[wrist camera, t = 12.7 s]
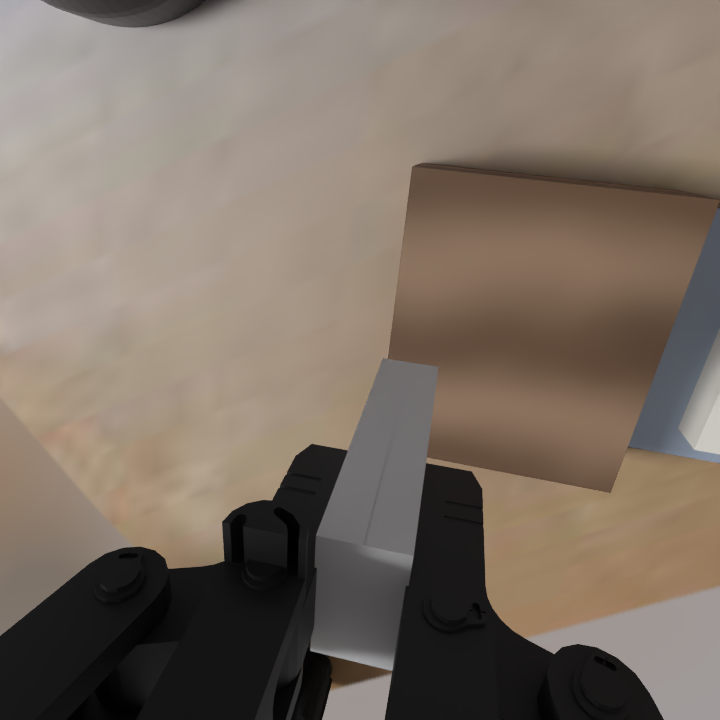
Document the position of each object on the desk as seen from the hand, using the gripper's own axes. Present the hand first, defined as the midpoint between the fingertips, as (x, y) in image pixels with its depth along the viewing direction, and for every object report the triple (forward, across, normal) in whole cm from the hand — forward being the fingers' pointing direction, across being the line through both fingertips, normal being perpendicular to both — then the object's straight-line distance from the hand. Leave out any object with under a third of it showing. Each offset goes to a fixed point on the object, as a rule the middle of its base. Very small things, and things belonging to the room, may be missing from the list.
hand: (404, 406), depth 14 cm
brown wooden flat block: (+12, +4, -1) cm, 13 cm away
